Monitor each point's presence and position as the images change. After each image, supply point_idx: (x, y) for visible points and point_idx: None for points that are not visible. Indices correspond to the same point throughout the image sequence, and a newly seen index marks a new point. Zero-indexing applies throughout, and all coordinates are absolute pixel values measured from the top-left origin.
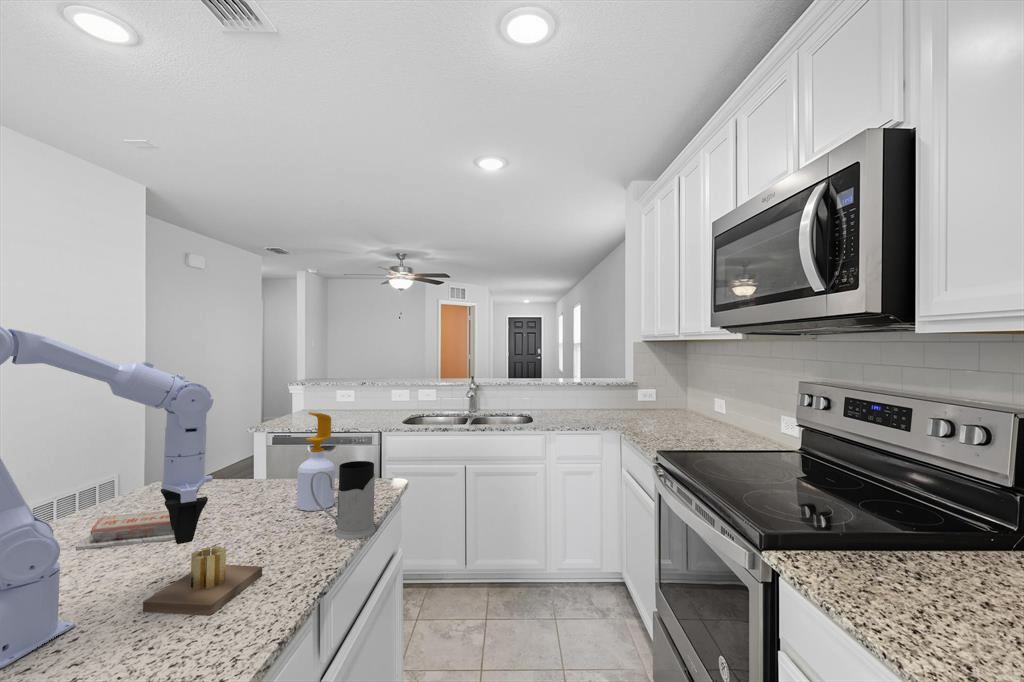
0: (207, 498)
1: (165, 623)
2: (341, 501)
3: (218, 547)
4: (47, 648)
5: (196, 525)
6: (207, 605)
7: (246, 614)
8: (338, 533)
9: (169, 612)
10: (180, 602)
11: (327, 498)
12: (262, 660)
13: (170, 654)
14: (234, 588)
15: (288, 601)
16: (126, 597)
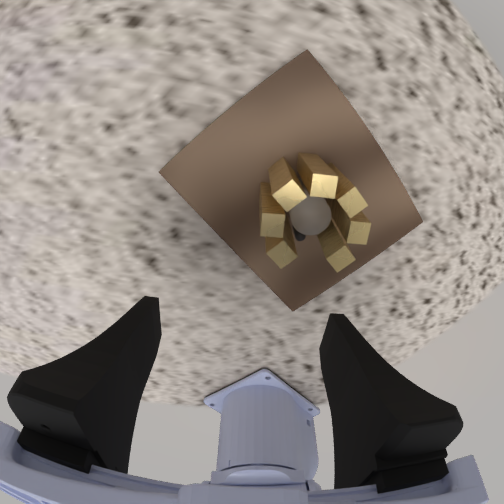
0: (452, 422)
1: (373, 277)
2: None
3: (294, 190)
4: (306, 385)
5: (372, 348)
6: (416, 226)
7: (461, 164)
8: None
9: None
10: (360, 262)
11: None
12: None
13: (463, 284)
14: (383, 154)
15: (474, 86)
16: (197, 309)
